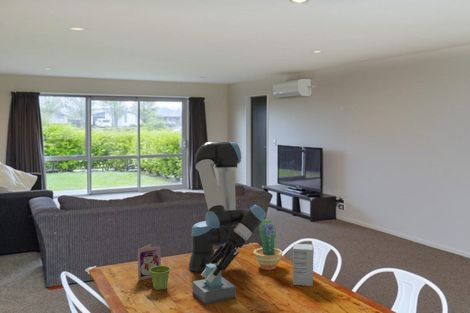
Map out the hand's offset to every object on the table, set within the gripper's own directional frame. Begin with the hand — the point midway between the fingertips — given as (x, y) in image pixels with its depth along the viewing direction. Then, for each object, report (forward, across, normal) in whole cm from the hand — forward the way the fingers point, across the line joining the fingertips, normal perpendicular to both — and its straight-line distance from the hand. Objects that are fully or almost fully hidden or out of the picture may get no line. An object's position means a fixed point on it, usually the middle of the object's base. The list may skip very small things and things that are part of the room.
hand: (205, 278), depth 179 cm
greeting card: (+17, +37, +5) cm, 41 cm away
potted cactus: (-25, +21, -37) cm, 49 cm away
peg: (+1, 0, -6) cm, 6 cm away
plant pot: (+16, +20, +4) cm, 25 cm away
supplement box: (-27, -5, -39) cm, 48 cm away
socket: (+3, 0, -8) cm, 9 cm away
